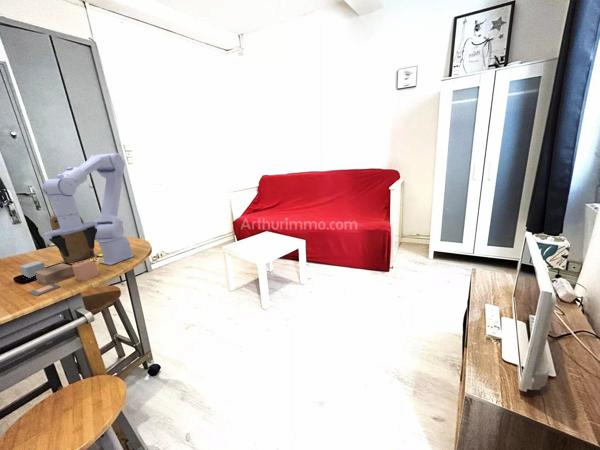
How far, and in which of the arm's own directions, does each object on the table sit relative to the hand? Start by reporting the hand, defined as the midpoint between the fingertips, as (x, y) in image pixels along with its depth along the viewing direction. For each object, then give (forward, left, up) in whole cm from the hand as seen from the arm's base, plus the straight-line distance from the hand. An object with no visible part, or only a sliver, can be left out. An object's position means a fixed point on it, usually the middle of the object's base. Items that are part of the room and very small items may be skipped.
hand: (79, 252), depth 92 cm
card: (+11, -3, -9) cm, 15 cm away
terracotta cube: (0, 0, -10) cm, 10 cm away
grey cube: (+7, -21, -10) cm, 24 cm away
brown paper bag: (-9, -25, -10) cm, 28 cm away
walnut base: (+5, -10, -10) cm, 15 cm away
